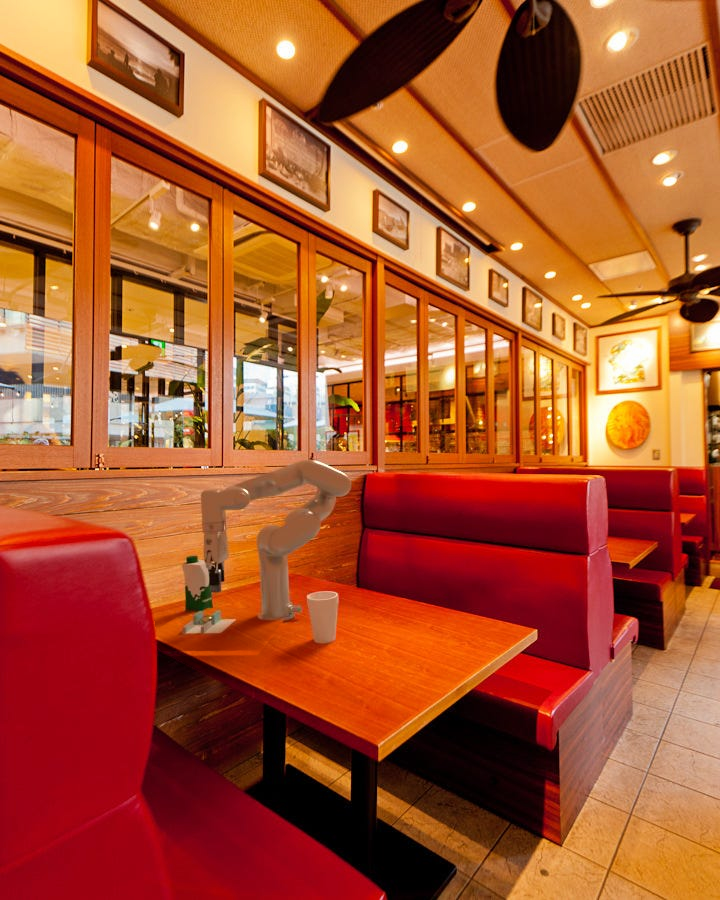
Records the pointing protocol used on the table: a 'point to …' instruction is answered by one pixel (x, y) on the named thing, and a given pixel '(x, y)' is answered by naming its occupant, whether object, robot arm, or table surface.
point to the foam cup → (323, 615)
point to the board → (207, 624)
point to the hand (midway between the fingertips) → (217, 582)
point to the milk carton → (196, 585)
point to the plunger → (206, 618)
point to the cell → (216, 587)
